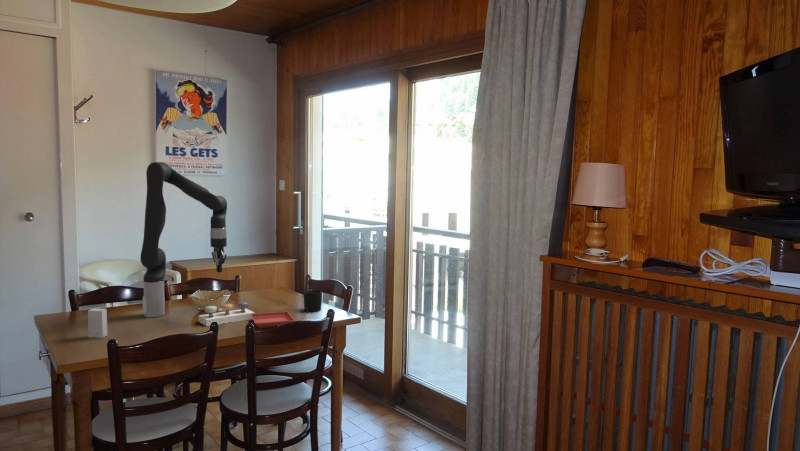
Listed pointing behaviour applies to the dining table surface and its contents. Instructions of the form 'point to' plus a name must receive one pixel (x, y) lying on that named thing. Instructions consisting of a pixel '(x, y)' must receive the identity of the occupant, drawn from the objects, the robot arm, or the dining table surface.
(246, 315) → the button board
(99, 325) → the skincare box
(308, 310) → the pen holder
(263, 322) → the plant saucer
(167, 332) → the dining table surface
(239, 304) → the charcoal button
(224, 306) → the terracotta button
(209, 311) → the sage button
